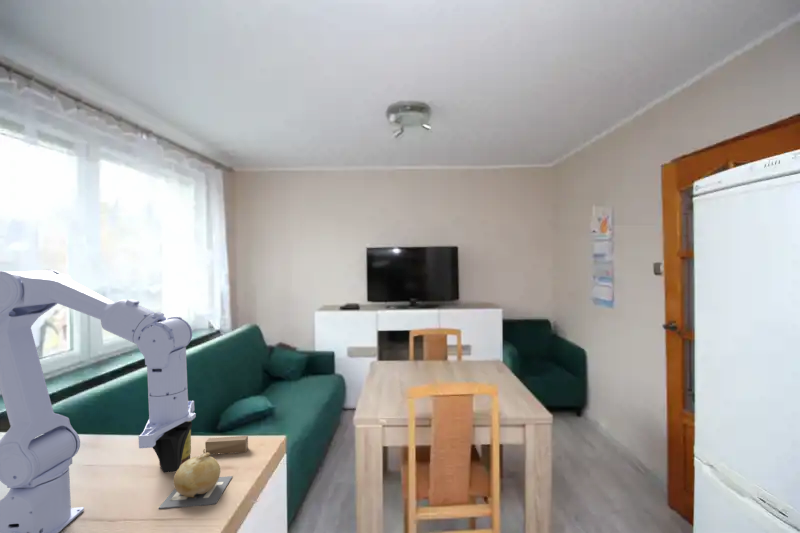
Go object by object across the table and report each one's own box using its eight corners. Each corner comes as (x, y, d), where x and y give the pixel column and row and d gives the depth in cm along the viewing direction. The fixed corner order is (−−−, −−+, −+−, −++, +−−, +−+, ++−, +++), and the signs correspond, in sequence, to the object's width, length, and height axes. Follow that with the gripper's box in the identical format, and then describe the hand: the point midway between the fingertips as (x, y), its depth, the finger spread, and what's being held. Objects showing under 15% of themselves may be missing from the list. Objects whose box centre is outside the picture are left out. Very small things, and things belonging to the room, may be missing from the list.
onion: (208, 503, 71) (206, 465, 71) (165, 504, 71) (163, 466, 71) (227, 478, 79) (226, 444, 79) (188, 479, 79) (187, 445, 79)
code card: (215, 504, 71) (215, 502, 71) (158, 508, 70) (158, 507, 70) (232, 477, 80) (232, 475, 80) (182, 480, 79) (182, 479, 79)
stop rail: (245, 452, 91) (245, 439, 90) (205, 455, 90) (205, 442, 90) (248, 448, 93) (247, 435, 92) (209, 450, 92) (208, 438, 92)
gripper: (171, 404, 59) (175, 493, 59) (209, 376, 73) (212, 447, 73) (122, 408, 58) (126, 497, 58) (170, 378, 72) (173, 450, 73)
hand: (171, 470), depth 66 cm, fingers closed
